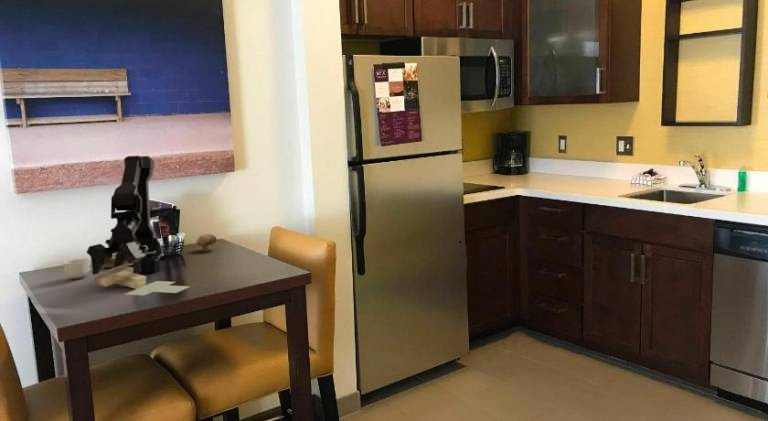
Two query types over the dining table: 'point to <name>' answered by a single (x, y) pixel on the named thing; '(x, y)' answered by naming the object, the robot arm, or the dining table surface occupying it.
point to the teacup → (77, 267)
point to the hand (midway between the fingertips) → (105, 271)
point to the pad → (157, 288)
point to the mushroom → (206, 241)
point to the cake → (111, 263)
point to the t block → (120, 277)
